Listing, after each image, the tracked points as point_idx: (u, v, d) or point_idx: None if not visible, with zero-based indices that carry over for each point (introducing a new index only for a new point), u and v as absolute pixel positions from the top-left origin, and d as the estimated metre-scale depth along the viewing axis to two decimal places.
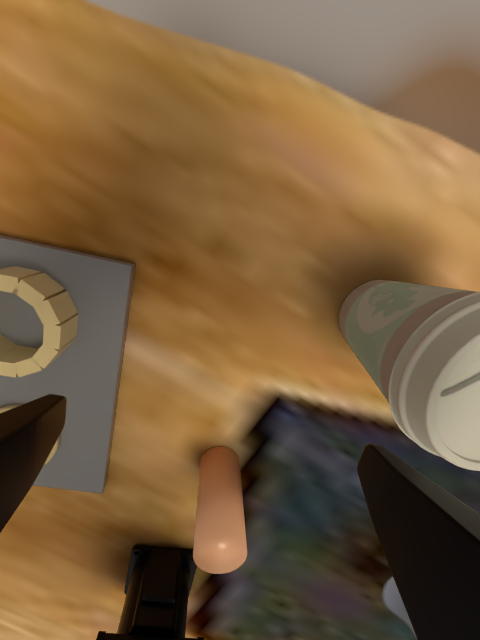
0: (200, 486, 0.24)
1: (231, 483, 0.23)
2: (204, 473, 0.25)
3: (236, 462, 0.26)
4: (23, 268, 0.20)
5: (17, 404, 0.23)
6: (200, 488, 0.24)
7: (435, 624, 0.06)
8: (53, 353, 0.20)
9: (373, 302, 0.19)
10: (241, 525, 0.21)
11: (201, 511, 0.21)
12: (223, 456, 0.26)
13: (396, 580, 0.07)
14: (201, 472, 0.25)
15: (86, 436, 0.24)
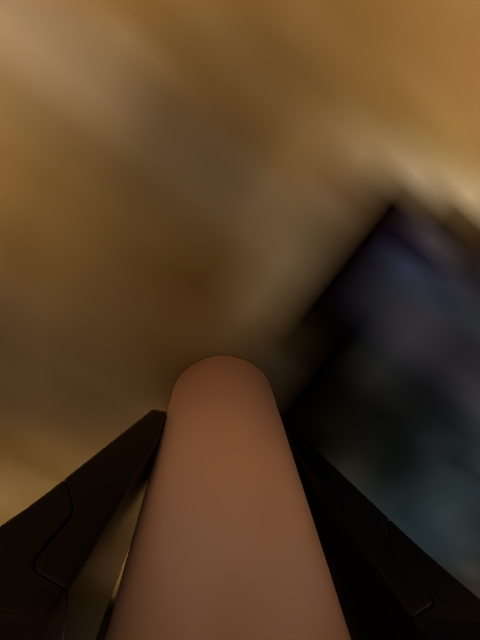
0: (157, 453, 0.07)
1: (265, 439, 0.07)
2: (174, 414, 0.08)
3: (269, 393, 0.09)
4: None
5: None
6: (156, 459, 0.07)
7: None
8: None
9: None
10: (343, 634, 0.04)
11: (140, 551, 0.05)
12: (233, 373, 0.09)
13: None
14: (167, 416, 0.08)
15: None
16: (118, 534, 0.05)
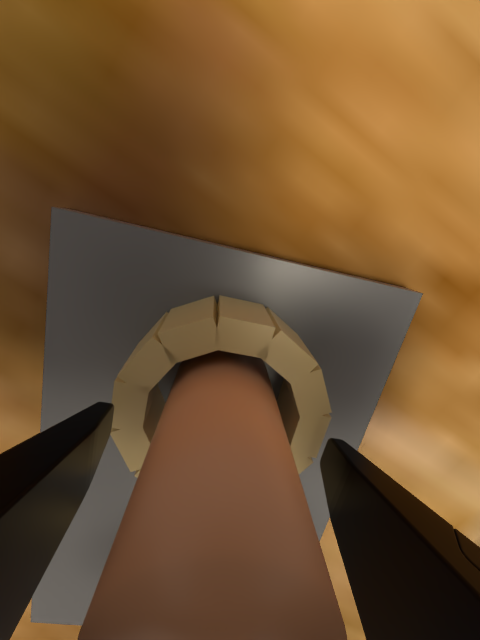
0: (164, 409, 0.08)
1: (255, 394, 0.08)
2: (178, 380, 0.09)
3: (263, 370, 0.10)
4: (236, 300, 0.11)
5: None
6: (163, 413, 0.08)
7: (380, 620, 0.06)
8: (303, 465, 0.10)
9: None
10: (306, 516, 0.05)
11: (149, 463, 0.06)
12: None
13: (348, 576, 0.07)
14: (173, 385, 0.10)
15: None
16: (33, 525, 0.05)
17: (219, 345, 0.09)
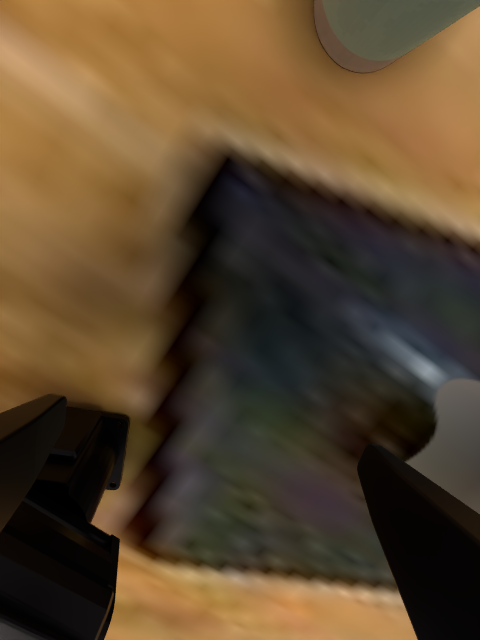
0: None
1: None
2: None
3: None
4: None
5: None
6: None
7: (435, 624, 0.06)
8: None
9: None
10: None
11: None
12: None
13: (396, 580, 0.07)
14: None
15: None
16: None
17: None
